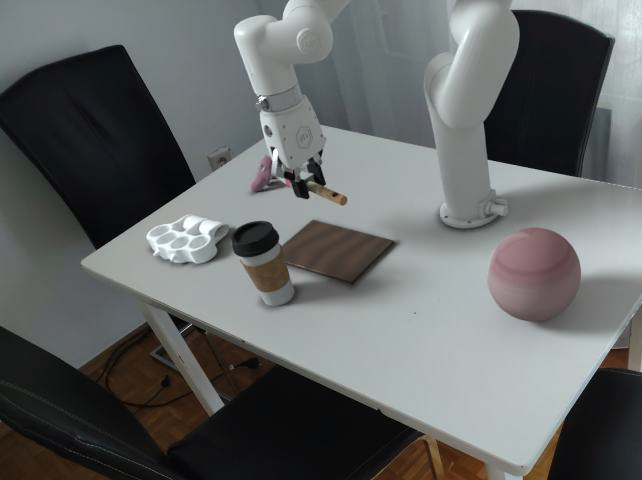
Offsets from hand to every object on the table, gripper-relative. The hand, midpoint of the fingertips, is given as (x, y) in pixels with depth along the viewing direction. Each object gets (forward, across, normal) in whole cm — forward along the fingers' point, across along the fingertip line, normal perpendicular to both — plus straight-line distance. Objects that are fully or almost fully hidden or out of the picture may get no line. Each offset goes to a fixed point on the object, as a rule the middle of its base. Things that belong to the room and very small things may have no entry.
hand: (311, 190), depth 121 cm
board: (+14, -1, -1) cm, 14 cm away
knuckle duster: (+14, -11, +32) cm, 37 cm away
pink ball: (+14, 0, -47) cm, 49 cm away
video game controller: (+14, +16, +34) cm, 40 cm away
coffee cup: (+14, -16, 0) cm, 21 cm away
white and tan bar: (0, 0, 0) cm, 1 cm away
